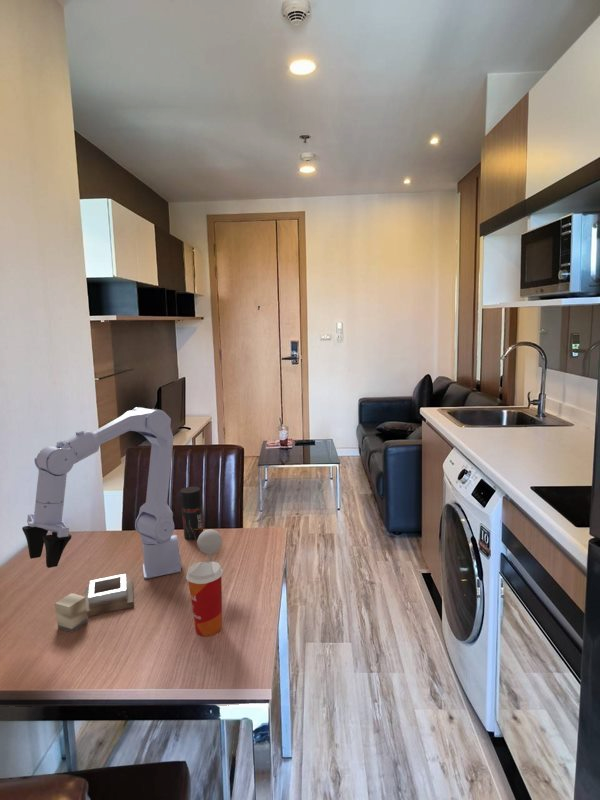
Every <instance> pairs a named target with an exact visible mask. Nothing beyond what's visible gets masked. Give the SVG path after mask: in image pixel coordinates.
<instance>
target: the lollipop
mask: <svg viewBox="0 0 600 800" xmlns="http://www.w3.org/2000/svg"><path fill="white" fill-rule="evenodd" d="M196 540H197V541H196V545H197V547H198V549H199V550H200V551H201V552H202V553H203V554H205V555H209V562H212V561H213V556H212V555H213V554H215V553H216V552H218V551H219V550H220V548H221V546H222V543H223V542H222V541H223V538H222V536H221V534H220V533H219V532H218V531H217V530H216V529H206V530H203V532H202V533H201V534H200V535H199V537H198V539H196Z"/></svg>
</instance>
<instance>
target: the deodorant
mask: <svg viewBox="0 0 600 800" xmlns="http://www.w3.org/2000/svg"><path fill="white" fill-rule="evenodd" d="M179 492H180V493H179V494H180V502H181V503H180V504H181V514H182V516H181V517H182V525H183V537H184V539H185V540H188V541H195V540H198V537H199V535H200V534H201V533H202V532H203V531H204V522H203V508H202V497H201V488H200V487H199V486H187V487H183V488H182V489H180V491H179Z"/></svg>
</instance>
